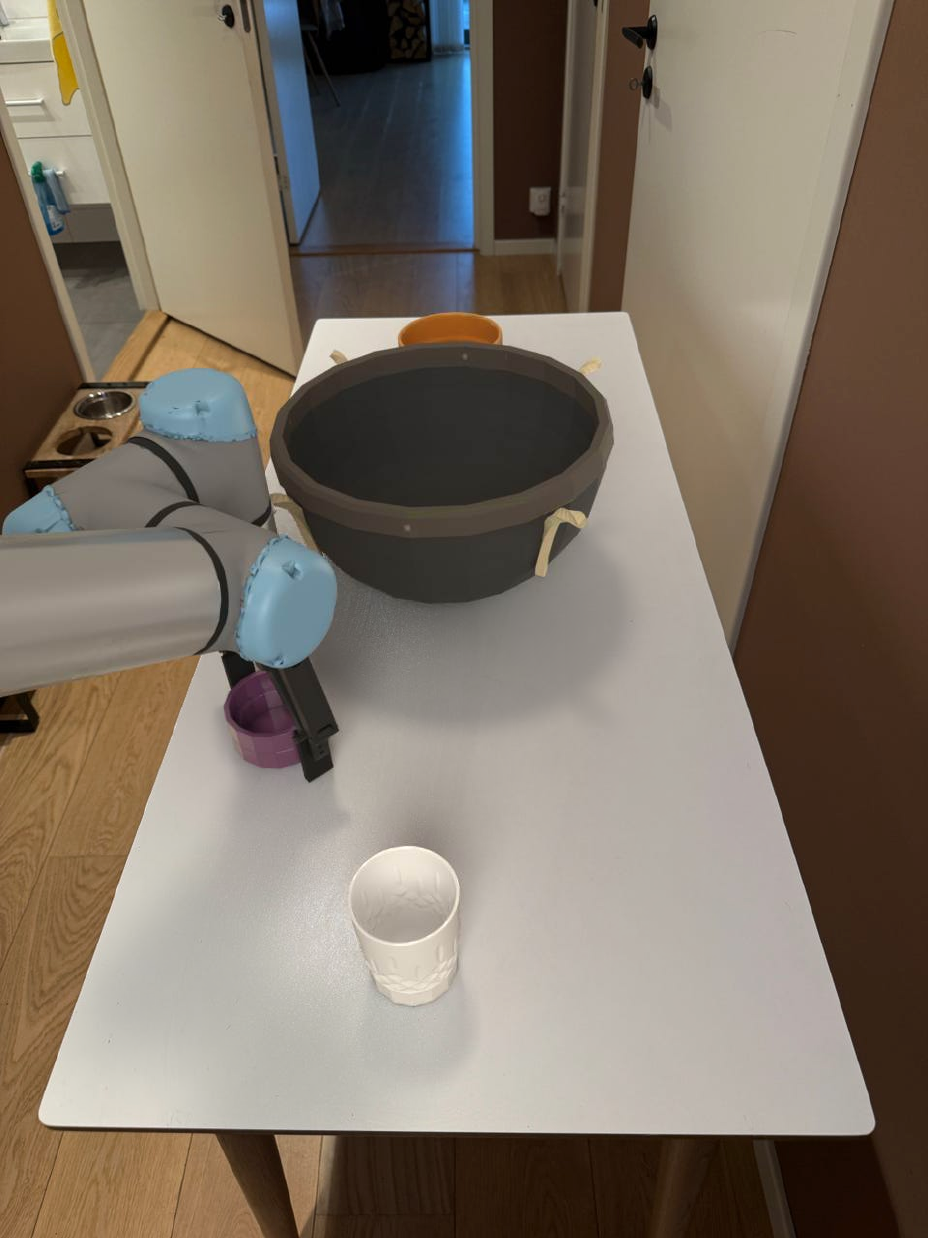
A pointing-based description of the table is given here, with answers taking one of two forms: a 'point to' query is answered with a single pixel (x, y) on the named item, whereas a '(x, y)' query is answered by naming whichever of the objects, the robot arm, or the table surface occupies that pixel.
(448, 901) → the white cup
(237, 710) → the plum dish
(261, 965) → the table surface
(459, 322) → the flower pot
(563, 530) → the bowl
